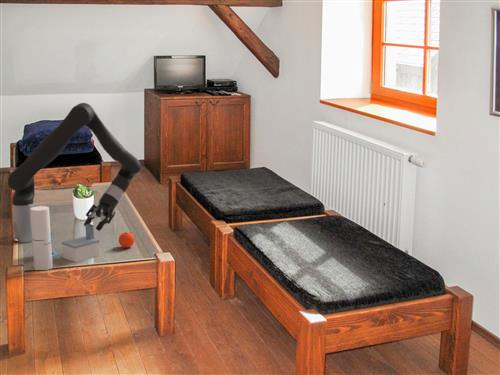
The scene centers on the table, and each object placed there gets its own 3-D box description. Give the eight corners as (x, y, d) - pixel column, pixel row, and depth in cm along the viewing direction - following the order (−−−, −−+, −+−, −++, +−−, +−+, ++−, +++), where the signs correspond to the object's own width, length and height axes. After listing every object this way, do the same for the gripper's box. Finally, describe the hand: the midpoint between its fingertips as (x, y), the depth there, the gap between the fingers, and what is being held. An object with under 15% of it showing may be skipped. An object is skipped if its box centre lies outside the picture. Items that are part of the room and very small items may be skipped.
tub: (75, 262, 312) (75, 248, 311) (63, 257, 318) (62, 244, 317) (99, 255, 321) (98, 242, 320) (86, 251, 327) (85, 238, 326)
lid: (75, 251, 311) (74, 232, 309) (61, 247, 317) (60, 228, 315) (99, 245, 320) (98, 226, 318) (86, 241, 326) (85, 222, 324)
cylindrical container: (34, 266, 307) (30, 206, 302) (52, 264, 309) (48, 205, 304) (34, 271, 301) (30, 211, 295) (53, 269, 303) (49, 209, 297)
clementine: (124, 243, 338) (123, 228, 337) (138, 245, 336) (137, 229, 334) (116, 248, 331) (115, 233, 329) (130, 250, 329) (129, 234, 327)
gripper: (96, 190, 330) (76, 220, 324) (116, 195, 320) (96, 226, 314) (106, 199, 335) (86, 229, 329) (127, 204, 325) (107, 235, 319)
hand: (91, 228), depth 322 cm, fingers open, 8 cm apart
